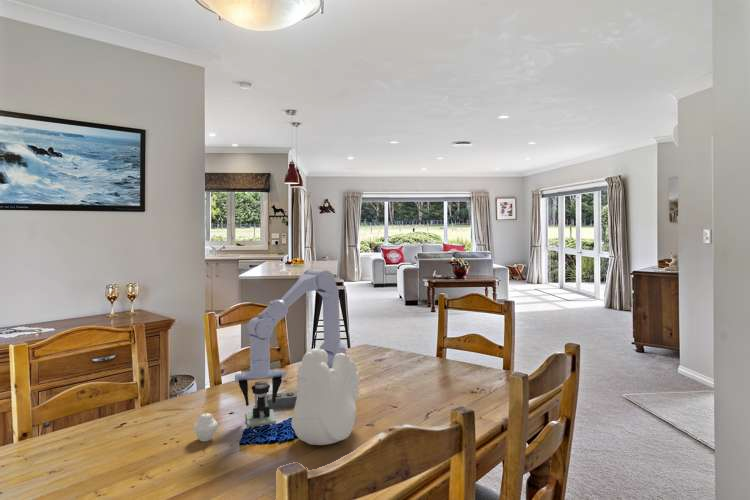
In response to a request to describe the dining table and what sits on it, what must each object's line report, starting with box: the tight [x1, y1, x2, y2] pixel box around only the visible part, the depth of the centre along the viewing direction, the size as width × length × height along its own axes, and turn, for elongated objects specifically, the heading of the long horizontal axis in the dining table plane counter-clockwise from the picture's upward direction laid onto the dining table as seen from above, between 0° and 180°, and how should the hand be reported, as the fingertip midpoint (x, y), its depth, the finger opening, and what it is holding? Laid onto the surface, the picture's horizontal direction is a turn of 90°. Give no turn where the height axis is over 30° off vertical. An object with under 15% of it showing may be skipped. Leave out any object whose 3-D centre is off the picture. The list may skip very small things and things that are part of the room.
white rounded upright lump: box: [291, 347, 360, 446], centre depth 126 cm, size 25×16×25 cm, turn 136°
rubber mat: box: [245, 408, 277, 427], centre depth 139 cm, size 8×10×1 cm
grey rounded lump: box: [193, 412, 219, 442], centre depth 125 cm, size 6×6×7 cm
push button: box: [246, 381, 271, 419], centre depth 138 cm, size 7×5×10 cm
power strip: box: [264, 390, 298, 410], centre depth 151 cm, size 18×5×4 cm, turn 108°
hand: (260, 403), depth 139 cm, fingers open, 7 cm apart
